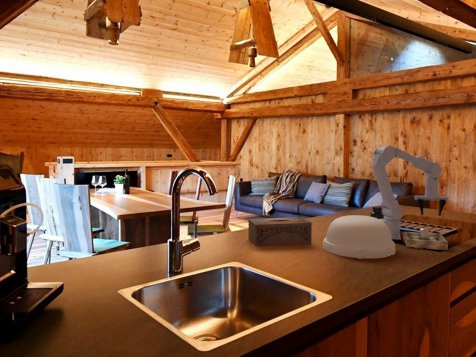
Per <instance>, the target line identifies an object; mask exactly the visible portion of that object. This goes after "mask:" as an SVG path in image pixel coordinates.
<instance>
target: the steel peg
mask: <svg viewBox="0 0 476 357" xmlns="http://www.w3.org/2000/svg"><path fill="white" fill-rule="evenodd" d="M419 233H420V240H429V233H430V229H429V228H427V227H426V228H425V227H420V230H419Z"/></svg>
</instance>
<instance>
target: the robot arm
mask: <svg viewBox="0 0 476 357" xmlns="http://www.w3.org/2000/svg"><path fill="white" fill-rule="evenodd" d="M372 154H373V158H372V166H371V167H372V169H373V170H372V171H373V173H374V176H375V180H376V183H377V186H378V190H379V192H380V195H381V199H382V201H381V207H382V214H383V215H384V219H380V220H381V221H383V222H384V223H385V224H386V225H387V226H388V228H389V230H390V232H391V236H392V240H402V238H401V235H400V234H401V233H400V232H401V219H402V217H403V215H404V211H403V210H404V209H403V208H401V206H400V204H399V202H398V201H397V200H396V199H395V195H394V192H393V189H392V185H391V182H390V178H389V176H388V172H387V169H386V167H387V165H388V164H389V163H390V162H391V161H392V160H393V159H394V158H395V159H396V158H399V159H401V160H404V161H406V162H409V163H411V166H412V167H414V168H416V169H419V170H420V171H423V173H425V184H424V186H425V187H424V188H425V189H424V195H414V200H415V201H417V204H418V207H419V210H420V216H423V215H424V201H438V213H437V214H438V215H437V216H439V217H441V216H442V212H443V209H444V208H445V206H446V204H447V202H449V196H445V195H444V196H442V195H439V187H440V186H439V183H440V182H439V180H440V174H441V173H442V170H443V168H442V166H441V165H440V163H438V162H434V161H433V159H427V158H425V157H424V155H421V154H420V155H416V156H414V155H412V154H411V153H409V152H407V151H404V150H402V149H400V148H398V147H395V146H393V145H379V146H377V147H376V148H375V149H374V151H373V152H372Z"/></svg>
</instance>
